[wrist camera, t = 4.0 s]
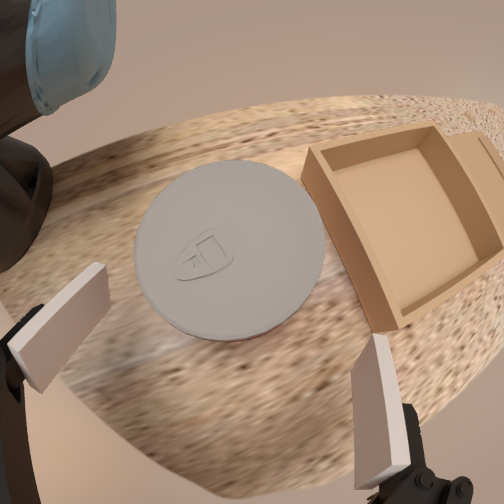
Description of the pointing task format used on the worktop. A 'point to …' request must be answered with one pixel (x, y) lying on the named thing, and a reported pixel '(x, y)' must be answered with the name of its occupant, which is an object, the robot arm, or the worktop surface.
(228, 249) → the canned food
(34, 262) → the worktop surface
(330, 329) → the worktop surface
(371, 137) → the mailer box
